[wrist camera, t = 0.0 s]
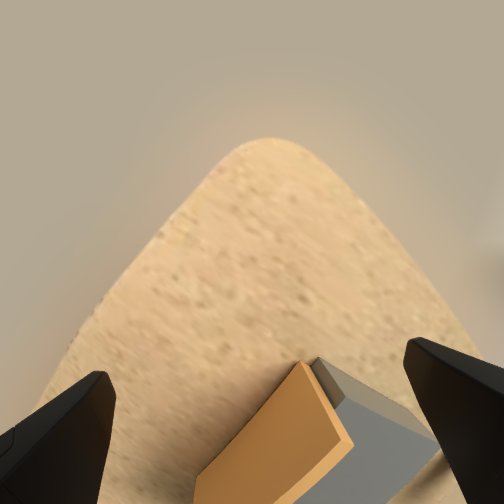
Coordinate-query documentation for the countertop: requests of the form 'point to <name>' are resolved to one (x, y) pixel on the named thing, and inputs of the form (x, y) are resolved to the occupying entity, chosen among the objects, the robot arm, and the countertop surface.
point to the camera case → (369, 443)
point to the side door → (278, 448)
